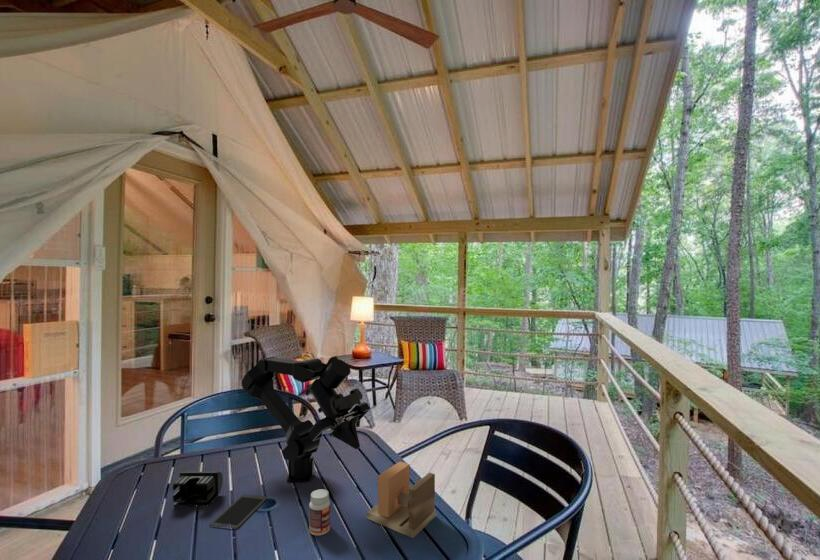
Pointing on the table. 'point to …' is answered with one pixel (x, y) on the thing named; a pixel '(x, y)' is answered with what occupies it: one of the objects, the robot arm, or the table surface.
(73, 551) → the table surface
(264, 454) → the table surface
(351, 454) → the table surface
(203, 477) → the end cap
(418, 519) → the pipe board
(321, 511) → the pill bottle
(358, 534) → the table surface
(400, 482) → the wooden board
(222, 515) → the cell phone
